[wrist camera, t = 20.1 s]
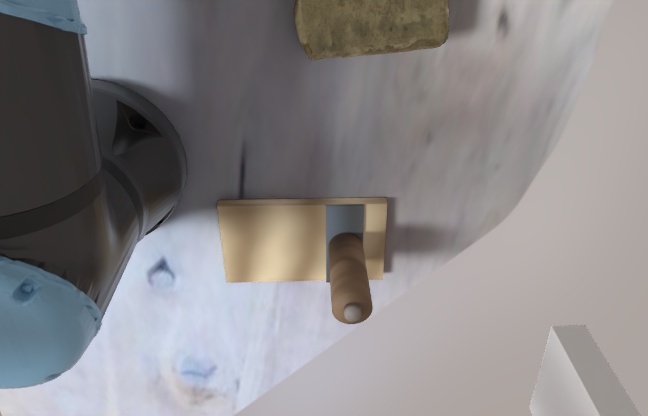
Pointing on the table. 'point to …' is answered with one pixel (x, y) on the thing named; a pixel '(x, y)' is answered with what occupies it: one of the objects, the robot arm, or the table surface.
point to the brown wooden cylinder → (349, 279)
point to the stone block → (369, 26)
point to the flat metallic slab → (297, 236)
